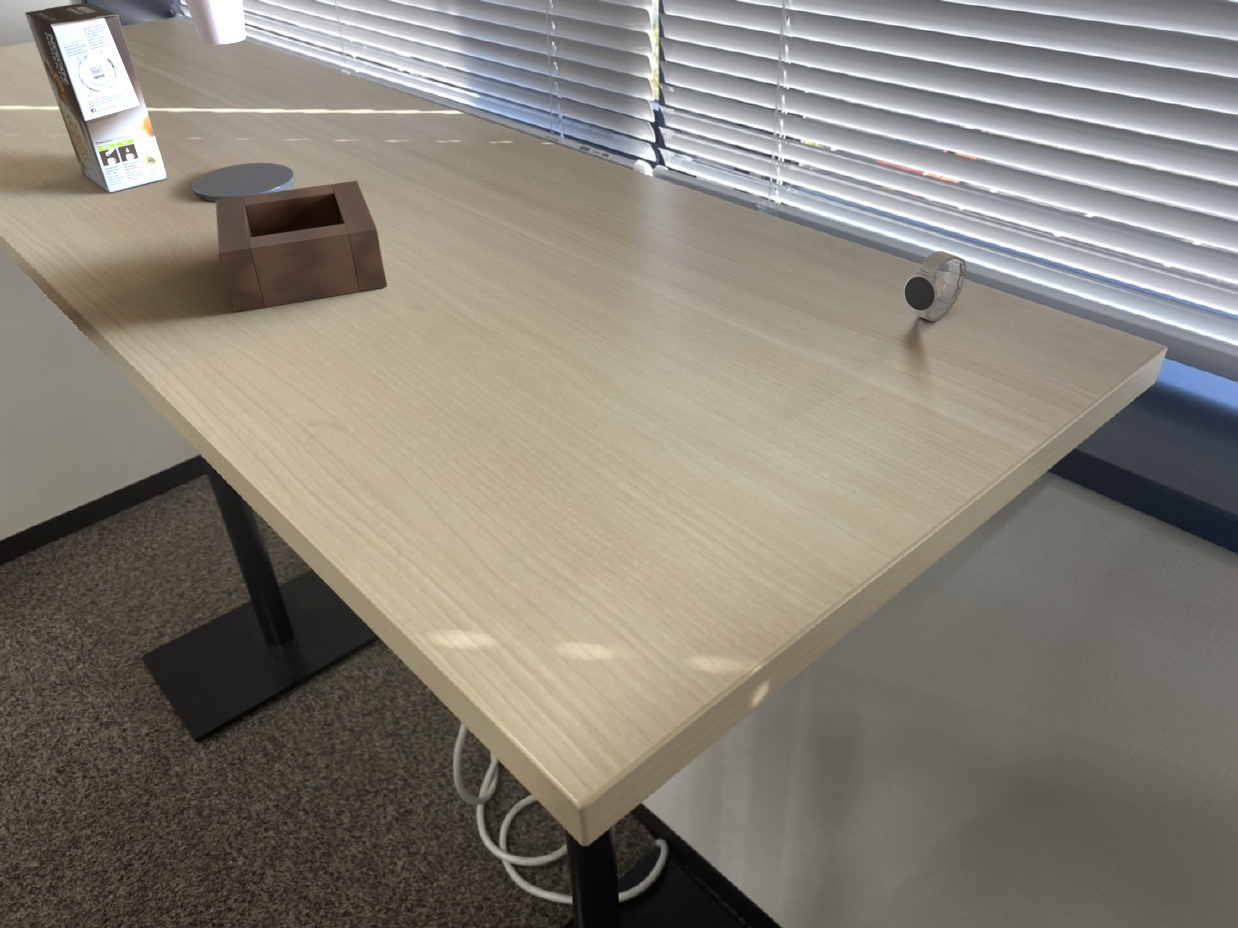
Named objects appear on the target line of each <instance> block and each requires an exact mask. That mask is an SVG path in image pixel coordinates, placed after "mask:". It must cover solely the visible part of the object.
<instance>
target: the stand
mask: <svg viewBox="0 0 1238 928" xmlns="http://www.w3.org/2000/svg"><path fill="white" fill-rule="evenodd" d="M369 208H370V207H369V206H368V203H367V201H366V198H365V196H364V194H363V191H362V189H361V186H360V183H359V181H358V180H351V181H344V182H337V183H332V184H330V183H329V184H323V185H316V186H307V187H302V188H293V189H286V190H284V191H278V192H270V193H263V194H256V195H248V196H244V197H243V196H242V197H235V198H227V199H220V200H216V202H215V215H216V230H217V231H216V232H217V247H218V256H219V260H220V263H221V267H222V271H223V274H224V278H225V282H226V285H227V289H228V292H229V296H230V299H231V302H232V307H233V310H234V312H235V313H239V312H244V311H251V310H257V309H263V308H270V307H277V306H281V305H287V304H294V303H301V302H305V301H306V302H307V301H311V300H318V299H325V298H330V297H336V296H341V295H348V294H353V293H359V292H365V291H371V290H376V289H383V288H388V282H387V276H386V270H385V265H384V260H383V254H382V249H381V242H380V237H379V231H378V228H377V226H376V223H375V220H374V218H373V216H372V214H371V211H370V209H369Z"/></svg>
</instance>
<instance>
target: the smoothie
mask: <svg viewBox="0 0 1238 928" xmlns="http://www.w3.org/2000/svg"><path fill="white" fill-rule="evenodd" d="M184 2H185V4H186V7H187V10H188V12H189V15H190V18H191V20H192V24H193V25H194V29H195V31H196V34H197V37H198V39H199V42H200V43H202V44H206V45H225V44H233V43H237V42H241V41H243V40H245V39H246V29H245V17H244V9H243V8H244V7H243V0H184Z"/></svg>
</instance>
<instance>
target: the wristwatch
mask: <svg viewBox="0 0 1238 928" xmlns="http://www.w3.org/2000/svg"><path fill="white" fill-rule="evenodd" d="M946 263H948V269H947V270H945V272H944V273H943V279H942V281H944V285H943V288H942V290H941V292H940V293H939V295H938V289H937V286H936V281H937V277H938V276H937V274H938V272H939V271H940V270H941V268H942V267H943V265H945V264H946ZM966 271H967V264H966V261H965V259H963V258H962V257H959V256H957V255H954V254H951V253H949V252H945V251H943V250H937V251H934V252H932V253H931V254H930V255H928V256H927V257H926V258H925V259H924V260H923V262H922V263H921V265H920V267H919V268H918V270H915V272H914V274H913V275H912V276H911V277H909V278H908V279H907V281H906V282H905V284H904V287H903V296H904V299H905V302H906V303H907V308H908V309H910V311H911V312H912V314H914V316H917V317H919V318H922V319H924V320H927V321H930V322H936V321H939V320H940V319H942V318H943V317H944V316H945V315H946V314H947V313H948V312H949V311H950V309H952V307H953V306H954V305H955V304H956V302H957V300H958V299H959V296H960V294H961V291H962V287H963V284H964V282H965V275H966Z"/></svg>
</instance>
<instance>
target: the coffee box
mask: <svg viewBox="0 0 1238 928" xmlns="http://www.w3.org/2000/svg"><path fill="white" fill-rule="evenodd" d="M24 15H25V17H26V21H27V23H28V26H29V28H30V31H31V34H32V37H33V40H34V43H35V46H36V48H37V52H38V54H39V56H40V59H41V62H42V65H43V68H44V70H45V73H46V76H47V78H48V82H49V84H50V87H51V90H52V92H53V95H54V98H55V100H56V103H57V106H58V109H59V111H60V114H61V117H62V120H63V123H64V125H65V128H66V132H67V134H68V137H69V140H70V142H71V145H72V149H73V151H74V154H75V157H76V159H77V162H78V165H79V168H80V170H81V173H82V174H83V175H85V176H86V177H87V178H89V180H91V181H93V183H95V184H96V185H98V186H100V187H101V188H102V189H104V190H105V191H106V192H107V193H114V192H118V191H121V190H126V189H130V188H134V187H138V186H141V185H146V184H149V183H153V182H158V181H162V180H165V179H166V178H167V176H168V175H167V172H166V169H165V166H164V165H165V164H164V162H163V158H162V155H161V152H160V148H159V146H158V142H157V139H156V135H155V133H154V129H153V126H152V122H151V118H150V116H149V115H150V114H149V112H148V109H147V106H146V105H147V104H146V101H145V99H144V96H143V93H142V89H141V86H140V83H139V79H138V76H137V73H136V69H135V66H134V63H133V60H132V56H131V53H130V50H129V46H128V43H127V39H126V36H125V33H124V30H123V27H122V22H121V20H120V15H119V14H117V13H115V12H112V11H109V10H107V9H104V8H102V7H99V6H97V5H94V4H92V3H89V2H83V3H82V2H81V3H74V4H67V5H60V6H54V7H48V8H44V9H39V10H31V11H26V12H25V14H24Z"/></svg>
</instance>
